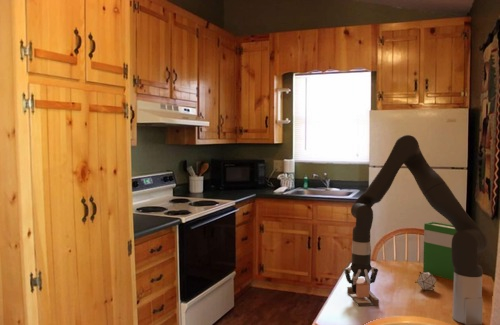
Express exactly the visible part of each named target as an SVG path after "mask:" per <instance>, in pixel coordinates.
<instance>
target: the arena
mask: <svg viewBox="0 0 500 325" xmlns="http://www.w3.org/2000/svg"><path fill="white" fill-rule="evenodd" d="M346 288H347V291H346V292H347V294H348V295H349V297H350V298H353V299H352V300H353V302H354V303H355V304H356V303H357V304H358V305H357V304H356V305H357V306H358V307H379V306H380V300H379V298H378V297H377V296H376V295H375V294H374V293H373V292H372V291H371V290H370V292H369V297H357V295H356V294H354V293H353V292H352V286H347V287H346Z"/></svg>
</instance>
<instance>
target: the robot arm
mask: <svg viewBox="0 0 500 325" xmlns="http://www.w3.org/2000/svg"><path fill="white" fill-rule="evenodd" d="M403 165H405V167H406V168H407V169H408V171H410V173H411V175H412V176H413V178H414V180H415V182H416V184H417V186H418V188H419V190H420V192H421V193H422V194H423V197H424V198H425V200H426V201H427V202H428V204H429V205H430V206H431V207H432V209H434V211H436V212H437V213H438V214H440V215H441V216H442V217H444V219H446V220H447V221H448V222H449V223H450V225H453V226H454V228H455V229H456V231H457V232H456V233H455V234H454V236H453V238H452V244H451V250H452V264H453V267H454V280H453V285H452V286H453V287H452V291H453V292H452V293H453V294H452V319H453V320H454V321H455V322H458V323H460V324H463V325H483V310H484V309H483V308H484V298H483V296H482V292H483V267H482V266H481V265H479V263H478V260H479V259H478V256H479V255H478V254H480V253H483V252H484V251H485V250H487V247H488V239H487V236H486V234H485V232H483V230H482V229H481V227H479V225H477V223H476V222H475V221H474V220H473V219H472V218H471V217H470V215H469V214H468V213H467V212H466V210H465V209H464V207H463V206H462V204H461V203H460V201H459V200H458V199H457V198H456V196H455V194H454V193H453V191H452V190H451V188H450V187H449V186H448V184H447V182H445V180H444V179H443V177H441V176H440V175H439V174H438V173H437V172H436V171H435V169H433V168H432V167H431V166H430V164H429V163H428V162H427V160H426V158H425V156H424V155H423V152H422V151H421V149H420V145H419V141H418V140H417V138H416V137H415V136H413V135H411V134H410V135H409V134H405V135H401V136H400V137H399V138H397V139H396V141H395V142H394V146H393V147H392V149H391V151H390V153H389V155H388V157H387V159H386V161H385V162H384V164H383V165H382V167H381V169H380V170H379V172H378V173H377V174H376V176H375V177H374V179H373V180H372V182H371V183H370V184H369V186H368V187H367V188H366V190H365V192H363V193H362V194H361V195H359V197H358V198H357V199H356V200H354V202H353V204H351V205H352V206H351V207H350V213H351V216H352V217H354V219H355V225H354V226H353V229H352V240H351V241H352V243H351V265H350V267H344V268H343V271H344V276H345V278H346V281H347V283H348V284H351V287H352V292H353V293H354V294H356V282H357V280H358V278H360V277H361V278H364V280H365V281H366V282H367V283H368V284H369V292H370V291H371V284H375V281H376V278H377V277H378V276H377V275H378V272H379V269H378V268H377V267H376V266H374V267H373V266H372V264H371V263H372V261H371V260H372V259H371V258H372V255H371V254H372V246H371V245H372V244H371V229H372V226H373V221H374V210H373V209H372V207H373V206H374V205H375V204H379V203H380V202H381V201H382V200H383V199H384V197H385V195H386V194H387V193H388V191H389V189H390V188H391V186H392V184H394V180H395V178H396V176H397V174H398V172H399V171H400V169H402V168H401V167H402V166H403ZM351 271H352V273H353V274H352V276H351V275H350V274H351ZM370 272H371V274H370V276H369V273H370Z"/></svg>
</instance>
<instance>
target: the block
mask: <svg viewBox="0 0 500 325" xmlns="http://www.w3.org/2000/svg"><path fill="white" fill-rule="evenodd" d="M356 295H357V297H369V284H368V283H367V282H366V281H365V278H364V277H361V278H360V277H358V280H357V282H356Z"/></svg>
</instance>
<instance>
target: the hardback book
mask: <svg viewBox="0 0 500 325" xmlns="http://www.w3.org/2000/svg"><path fill="white" fill-rule="evenodd" d="M423 224H424V226H423V228H424V229H423V233H424V234H423V267H422V268H423V269H422V273H426V272H428V271H430V272H429V273H430V274H432V276H436V277H440V278H443V279H446V280H451V281H454V267H453V264H452V250H451V244H452V238H453V236H454V234H455V233H456V232H457V231H456V229H455V228H454V226H453V225H452V224H448V223H442V222H437V221H430V222H426V223H423Z"/></svg>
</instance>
